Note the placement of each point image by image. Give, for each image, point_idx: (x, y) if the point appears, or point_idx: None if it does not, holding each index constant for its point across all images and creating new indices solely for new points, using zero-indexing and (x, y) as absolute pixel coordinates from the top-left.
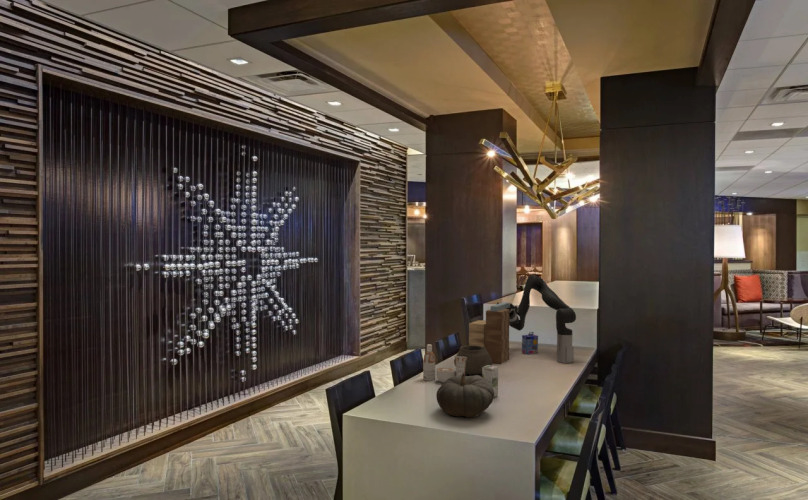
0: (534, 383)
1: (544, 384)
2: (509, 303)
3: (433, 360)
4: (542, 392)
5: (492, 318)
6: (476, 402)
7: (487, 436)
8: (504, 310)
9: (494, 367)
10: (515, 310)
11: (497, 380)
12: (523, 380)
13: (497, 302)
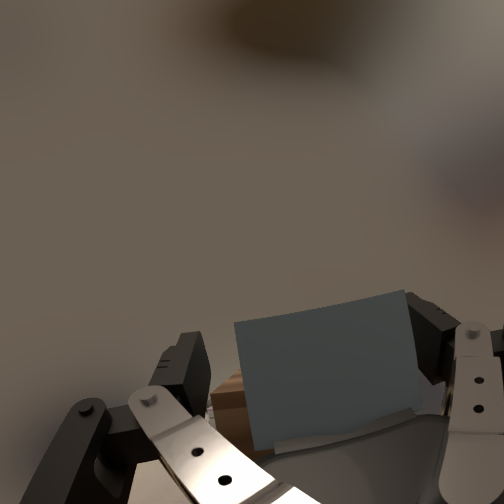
0: (157, 482)
1: (138, 481)
2: (238, 344)
3: None
4: (150, 462)
5: None
6: None
7: (206, 414)
8: (236, 376)
9: (211, 406)
10: (118, 495)
11: (210, 424)
12: (178, 489)
13: (408, 292)
